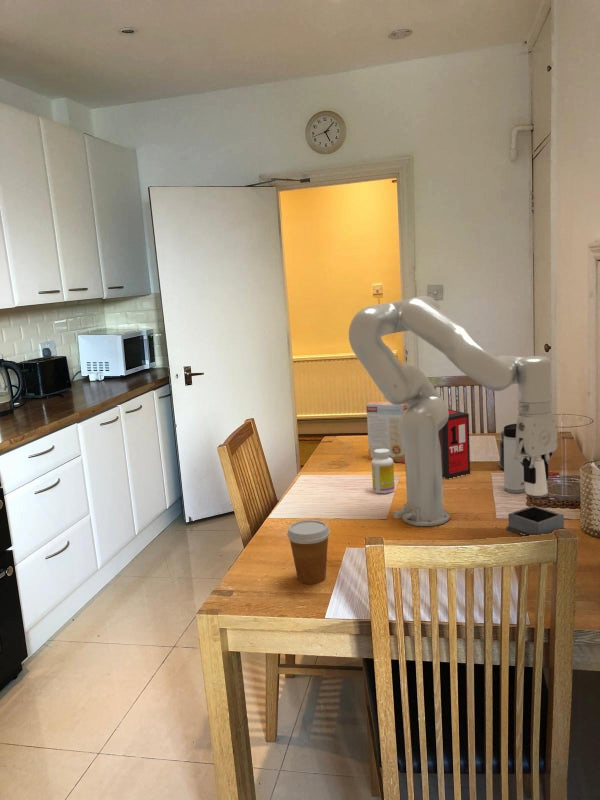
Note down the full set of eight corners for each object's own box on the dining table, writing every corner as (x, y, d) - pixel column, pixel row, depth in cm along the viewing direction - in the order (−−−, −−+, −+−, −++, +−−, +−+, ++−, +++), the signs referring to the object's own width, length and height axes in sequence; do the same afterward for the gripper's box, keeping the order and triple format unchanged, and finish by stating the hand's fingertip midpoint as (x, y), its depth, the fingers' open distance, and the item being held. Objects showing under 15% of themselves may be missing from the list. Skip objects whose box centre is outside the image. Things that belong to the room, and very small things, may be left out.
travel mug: (529, 493, 193) (528, 426, 189) (505, 493, 194) (504, 426, 191) (526, 486, 199) (525, 421, 195) (503, 486, 200) (502, 422, 197)
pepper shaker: (533, 497, 161) (532, 453, 159) (520, 491, 166) (519, 448, 164) (552, 493, 162) (552, 450, 160) (539, 487, 168) (538, 445, 166)
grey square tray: (538, 541, 159) (538, 524, 159) (506, 529, 168) (506, 513, 167) (566, 530, 164) (566, 515, 164) (533, 519, 173) (533, 504, 172)
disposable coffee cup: (284, 585, 146) (280, 533, 144) (299, 566, 155) (295, 517, 153) (325, 589, 143) (321, 536, 140) (338, 570, 151) (335, 520, 149)
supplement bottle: (399, 489, 204) (397, 449, 202) (386, 495, 200) (384, 454, 197) (381, 486, 209) (379, 446, 207) (368, 492, 204) (366, 451, 202)
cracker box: (411, 459, 237) (409, 401, 233) (404, 463, 232) (402, 404, 228) (376, 455, 244) (373, 400, 240) (368, 460, 239) (365, 403, 235)
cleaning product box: (417, 467, 226) (414, 410, 222) (438, 463, 229) (436, 406, 226) (448, 479, 211) (446, 418, 207) (470, 474, 215) (468, 413, 211)
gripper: (523, 415, 153) (525, 491, 156) (570, 404, 161) (571, 476, 165) (498, 411, 160) (500, 484, 163) (545, 400, 168) (546, 470, 171)
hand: (536, 479), depth 164 cm, fingers closed on pepper shaker, 3 cm apart
